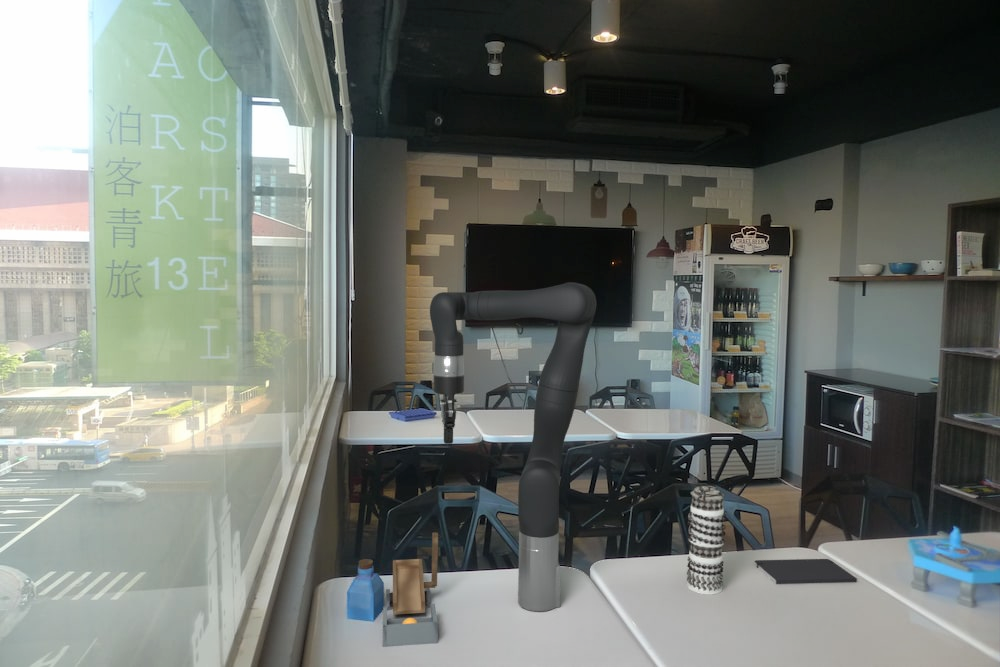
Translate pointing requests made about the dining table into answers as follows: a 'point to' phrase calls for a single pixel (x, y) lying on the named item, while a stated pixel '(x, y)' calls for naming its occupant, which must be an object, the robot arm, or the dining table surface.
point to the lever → (412, 582)
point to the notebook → (804, 571)
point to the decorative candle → (706, 540)
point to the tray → (410, 630)
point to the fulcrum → (390, 599)
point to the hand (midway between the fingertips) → (448, 442)
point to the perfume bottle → (365, 594)
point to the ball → (409, 621)
